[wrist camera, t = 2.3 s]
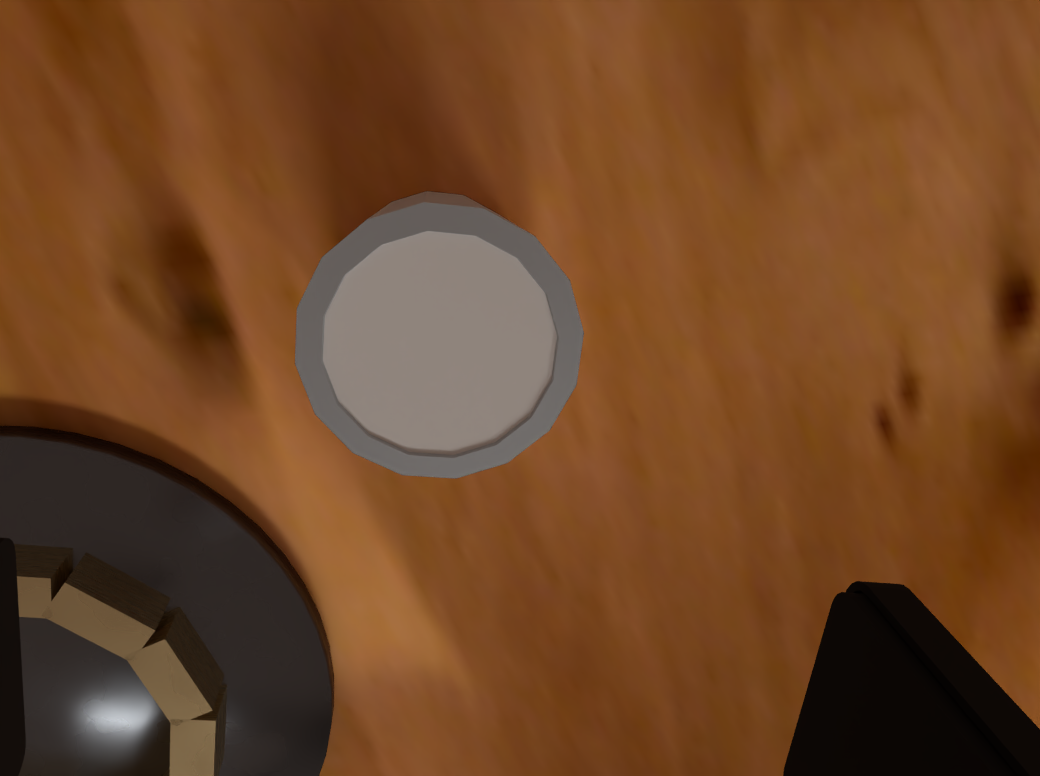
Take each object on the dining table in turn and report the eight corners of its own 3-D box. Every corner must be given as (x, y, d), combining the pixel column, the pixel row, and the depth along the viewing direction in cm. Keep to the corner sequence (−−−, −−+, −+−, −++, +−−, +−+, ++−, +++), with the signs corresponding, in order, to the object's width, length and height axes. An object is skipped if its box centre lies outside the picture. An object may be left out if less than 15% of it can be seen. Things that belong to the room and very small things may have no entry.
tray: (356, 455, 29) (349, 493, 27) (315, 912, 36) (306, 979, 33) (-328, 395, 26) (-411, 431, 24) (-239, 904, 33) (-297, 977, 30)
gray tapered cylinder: (342, 398, 29) (317, 496, 22) (307, 181, 26) (267, 217, 20) (554, 375, 29) (592, 464, 22) (539, 159, 27) (576, 188, 20)
